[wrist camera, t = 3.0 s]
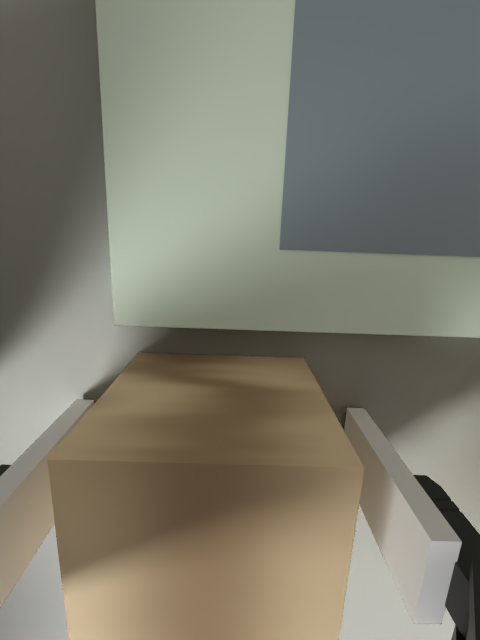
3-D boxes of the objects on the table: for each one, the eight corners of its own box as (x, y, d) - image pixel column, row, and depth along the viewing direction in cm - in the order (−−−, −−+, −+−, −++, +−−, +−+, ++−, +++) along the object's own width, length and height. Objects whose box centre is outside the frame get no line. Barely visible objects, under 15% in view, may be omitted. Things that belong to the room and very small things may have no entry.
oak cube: (144, 491, 16) (74, 684, 9) (139, 351, 14) (46, 459, 7) (291, 495, 16) (331, 687, 9) (303, 357, 14) (364, 468, 7)
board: (124, 317, 14) (113, 325, 12) (102, -127, 10) (84, -176, 9) (605, 334, 14) (640, 343, 13) (739, -91, 10) (805, -134, 9)
